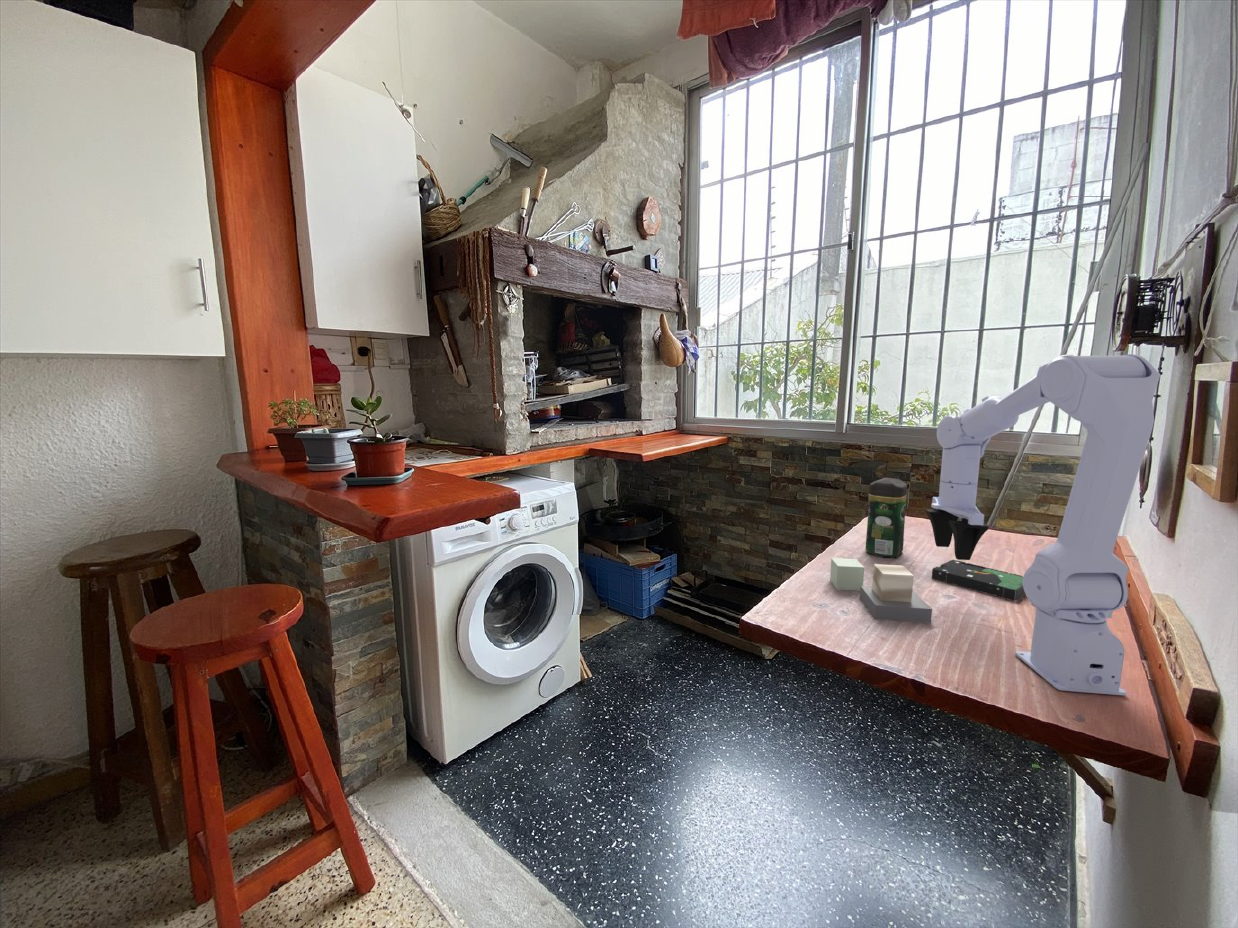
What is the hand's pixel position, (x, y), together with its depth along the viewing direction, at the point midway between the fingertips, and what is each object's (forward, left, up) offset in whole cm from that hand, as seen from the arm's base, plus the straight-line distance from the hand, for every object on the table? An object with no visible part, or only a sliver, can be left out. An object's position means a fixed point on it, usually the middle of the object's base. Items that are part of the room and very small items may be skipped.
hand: (952, 552), depth 92 cm
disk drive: (+10, -11, -10) cm, 18 cm away
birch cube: (-6, +12, -7) cm, 15 cm away
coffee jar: (+29, +2, -10) cm, 30 cm away
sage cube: (+5, +17, -10) cm, 20 cm away
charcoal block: (-6, +12, -10) cm, 17 cm away
